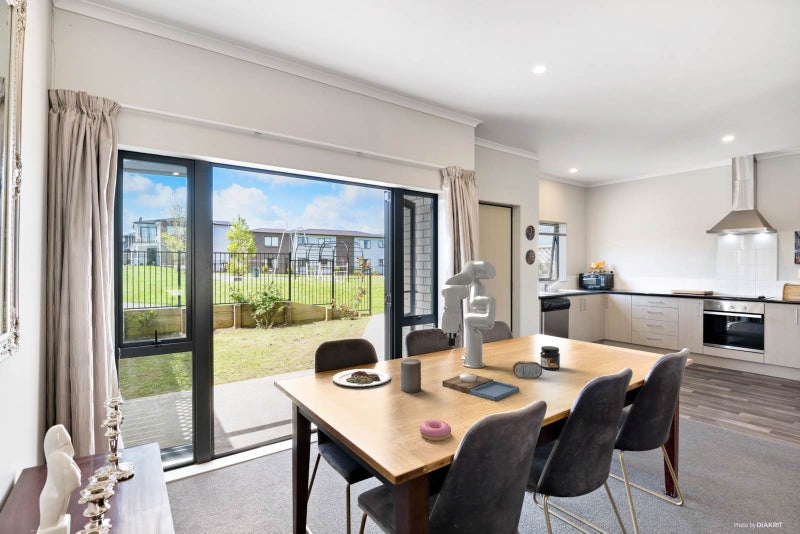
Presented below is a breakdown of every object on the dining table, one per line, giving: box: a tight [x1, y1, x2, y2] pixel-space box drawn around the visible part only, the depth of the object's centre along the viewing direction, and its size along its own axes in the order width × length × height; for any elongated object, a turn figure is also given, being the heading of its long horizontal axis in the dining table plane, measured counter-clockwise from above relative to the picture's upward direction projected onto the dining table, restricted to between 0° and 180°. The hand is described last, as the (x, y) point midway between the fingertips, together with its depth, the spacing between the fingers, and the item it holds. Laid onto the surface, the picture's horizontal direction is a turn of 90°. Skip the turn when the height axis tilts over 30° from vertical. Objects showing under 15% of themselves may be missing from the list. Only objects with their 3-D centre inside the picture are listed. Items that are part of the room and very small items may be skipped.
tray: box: [469, 380, 520, 402], centre depth 181 cm, size 14×20×2 cm
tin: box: [512, 360, 543, 379], centre depth 205 cm, size 15×3×8 cm, turn 84°
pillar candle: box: [400, 358, 422, 394], centre depth 186 cm, size 10×10×15 cm
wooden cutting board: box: [441, 374, 494, 395], centre depth 192 cm, size 16×20×2 cm
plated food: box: [332, 368, 391, 388], centre depth 202 cm, size 30×30×3 cm
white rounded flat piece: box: [459, 372, 476, 383], centre depth 192 cm, size 8×8×2 cm
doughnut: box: [419, 419, 452, 442], centre depth 136 cm, size 11×11×4 cm
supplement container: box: [539, 345, 561, 372], centre depth 223 cm, size 10×10×12 cm
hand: (451, 345), depth 199 cm, fingers closed
